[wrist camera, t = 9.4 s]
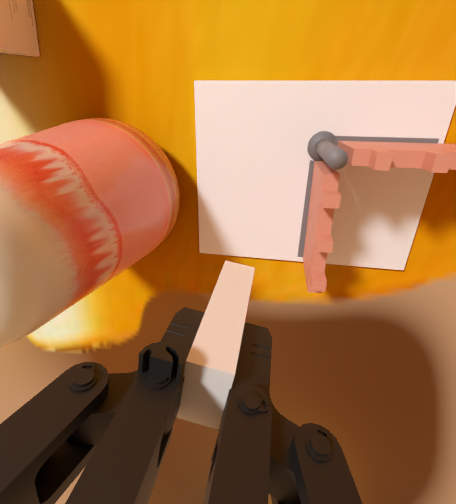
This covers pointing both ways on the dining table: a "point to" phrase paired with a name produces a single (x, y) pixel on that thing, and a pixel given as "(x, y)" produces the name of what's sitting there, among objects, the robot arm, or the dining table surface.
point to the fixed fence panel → (388, 155)
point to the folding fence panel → (320, 224)
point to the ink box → (18, 28)
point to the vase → (76, 215)
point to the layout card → (312, 165)
